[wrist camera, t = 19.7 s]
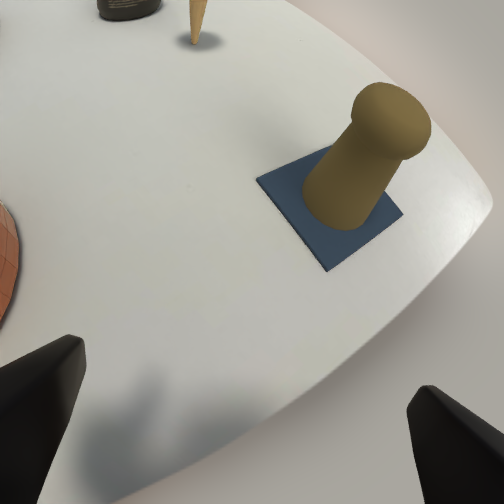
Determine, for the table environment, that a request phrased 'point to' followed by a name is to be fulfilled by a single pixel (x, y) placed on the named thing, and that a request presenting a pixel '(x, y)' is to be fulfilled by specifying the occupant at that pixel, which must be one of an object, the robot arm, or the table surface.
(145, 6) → the jar
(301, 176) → the mat
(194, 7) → the ice cream cone
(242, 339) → the table surface
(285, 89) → the table surface
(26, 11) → the table surface
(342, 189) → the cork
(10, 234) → the bowl
